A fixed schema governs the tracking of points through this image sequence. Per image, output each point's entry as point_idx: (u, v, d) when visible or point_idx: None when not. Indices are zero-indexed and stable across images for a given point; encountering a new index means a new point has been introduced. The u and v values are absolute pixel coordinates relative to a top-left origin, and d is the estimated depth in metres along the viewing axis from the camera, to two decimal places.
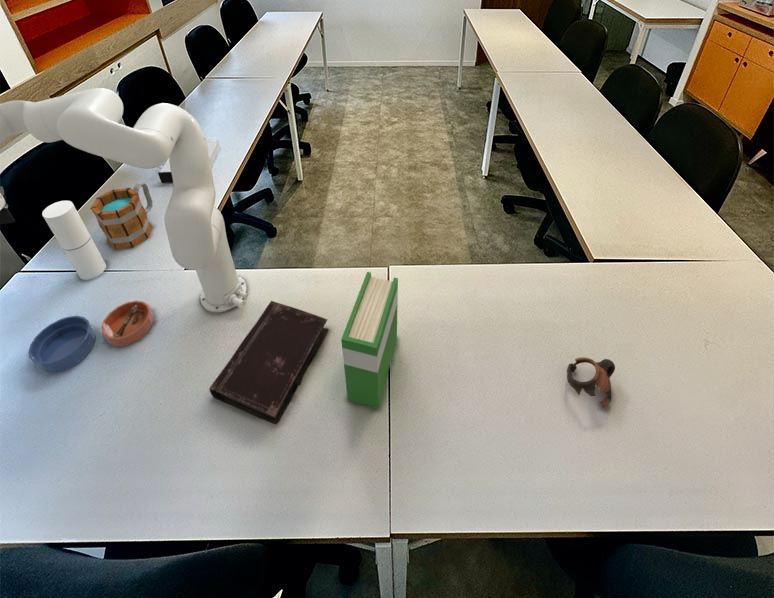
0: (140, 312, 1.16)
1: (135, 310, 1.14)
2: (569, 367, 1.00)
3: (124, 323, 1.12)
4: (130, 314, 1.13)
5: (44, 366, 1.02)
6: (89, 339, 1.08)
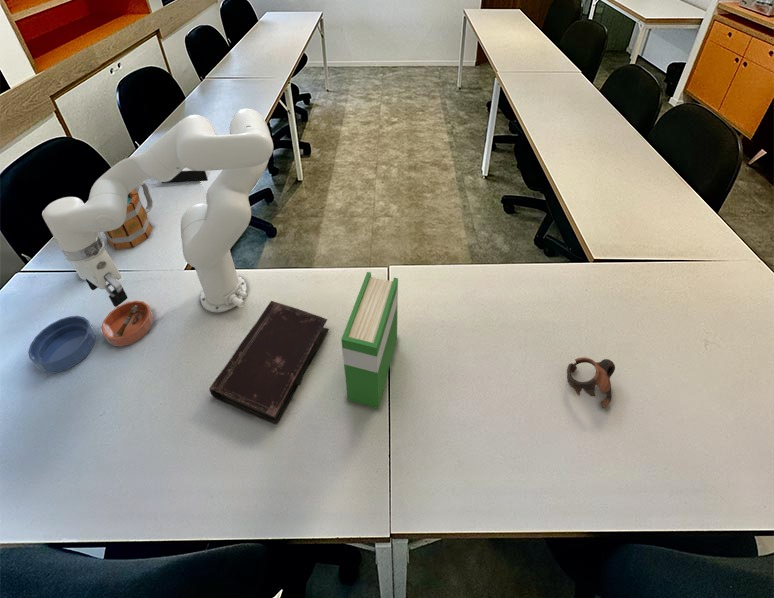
0: (140, 312, 1.16)
1: (135, 310, 1.14)
2: (569, 367, 1.00)
3: (124, 323, 1.12)
4: (130, 314, 1.13)
5: (44, 366, 1.02)
6: (89, 339, 1.08)
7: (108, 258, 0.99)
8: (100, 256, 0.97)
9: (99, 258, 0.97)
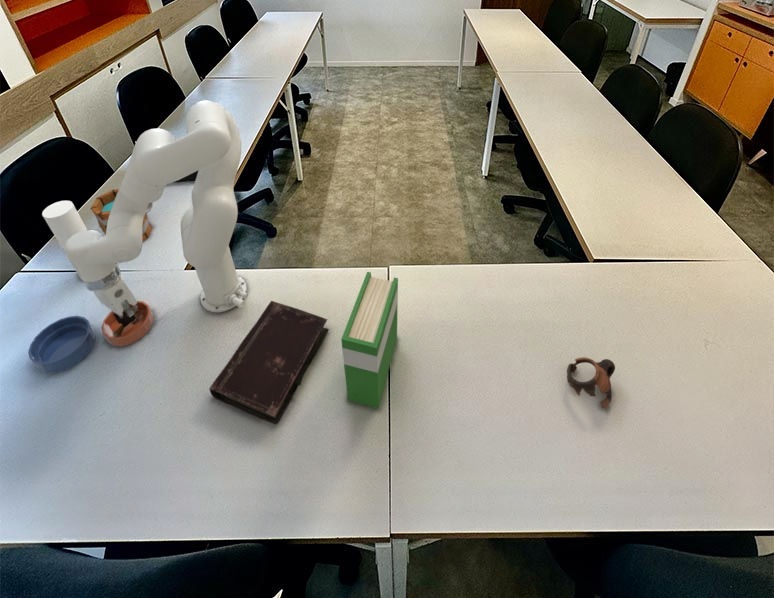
0: (140, 312, 1.16)
1: (135, 310, 1.14)
2: (569, 367, 1.00)
3: None
4: None
5: (44, 366, 1.02)
6: (89, 339, 1.08)
7: (125, 286, 1.04)
8: (118, 284, 1.03)
9: (116, 287, 1.02)
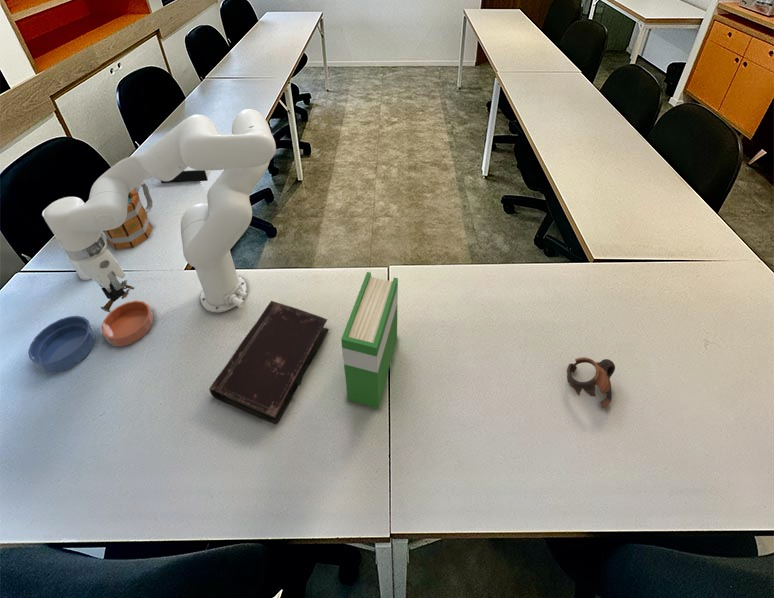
0: (131, 287, 1.11)
1: (125, 285, 1.09)
2: (569, 367, 1.00)
3: None
4: None
5: (44, 366, 1.02)
6: (89, 339, 1.08)
7: (111, 257, 0.99)
8: (103, 255, 0.97)
9: (101, 257, 0.97)
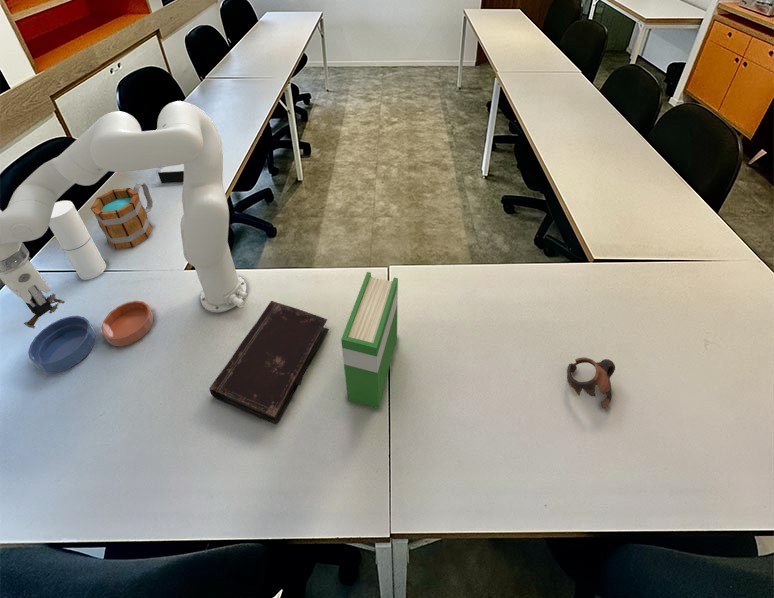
0: (60, 301, 1.04)
1: (53, 299, 1.02)
2: (569, 367, 1.00)
3: None
4: None
5: (44, 366, 1.02)
6: (89, 339, 1.08)
7: (33, 270, 0.92)
8: (22, 268, 0.90)
9: (21, 270, 0.90)
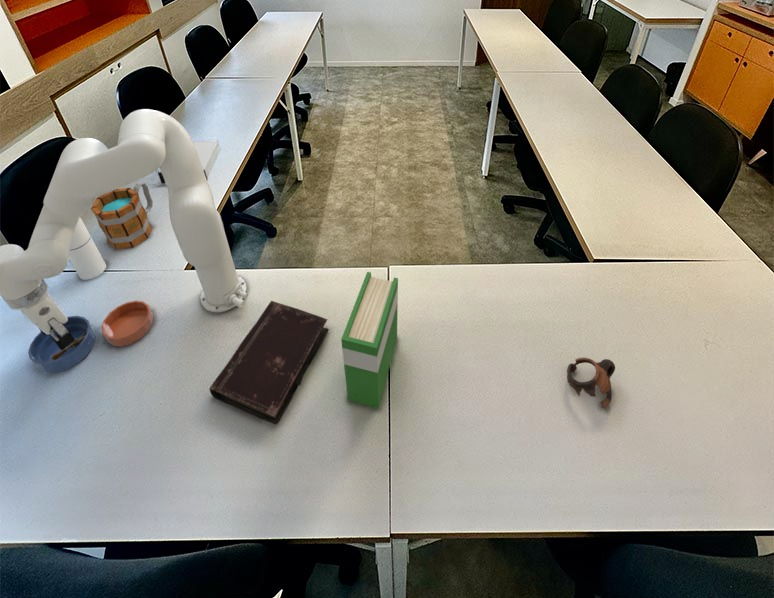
0: None
1: None
2: (569, 367, 1.00)
3: (66, 350, 1.06)
4: (76, 343, 1.07)
5: (44, 366, 1.02)
6: (89, 339, 1.08)
7: (52, 303, 0.98)
8: (43, 302, 0.96)
9: (41, 304, 0.96)
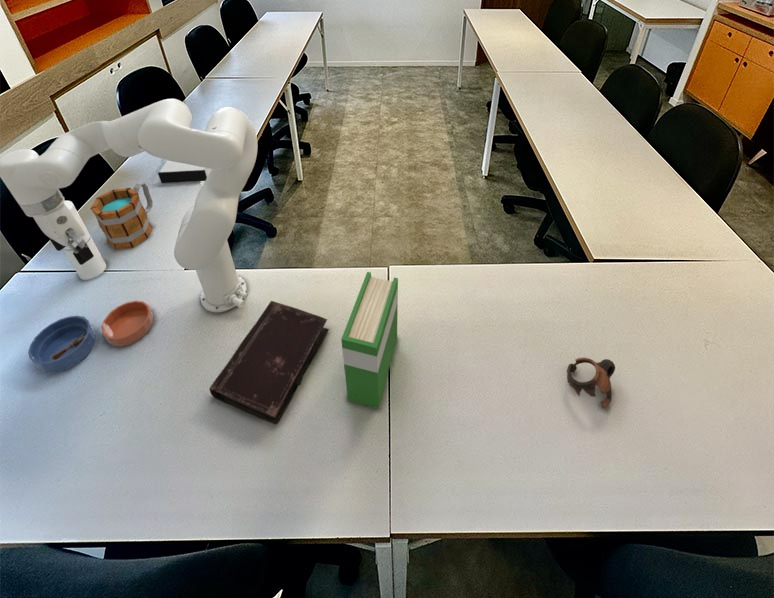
0: None
1: None
2: (569, 367, 1.00)
3: (66, 350, 1.06)
4: (76, 343, 1.07)
5: (44, 366, 1.02)
6: (89, 339, 1.08)
7: (69, 213, 0.97)
8: (60, 210, 0.95)
9: (58, 213, 0.95)
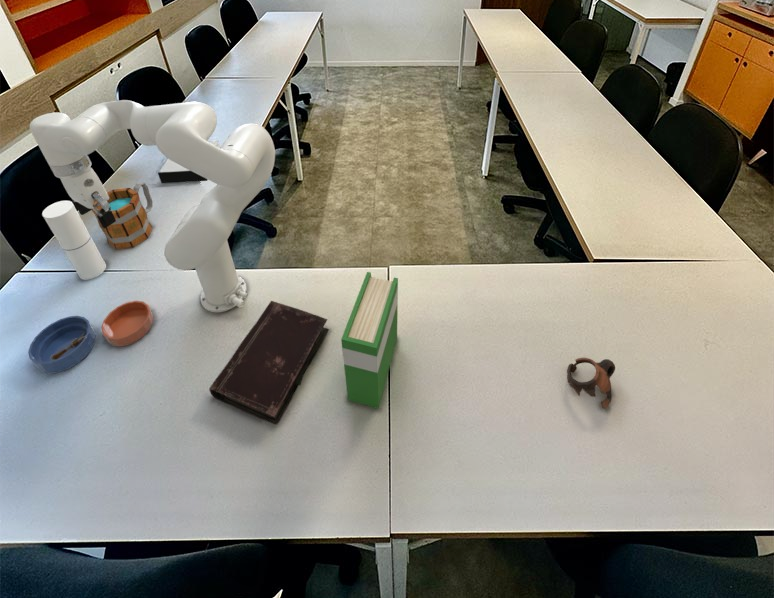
0: None
1: None
2: (569, 367, 1.00)
3: (66, 350, 1.06)
4: (76, 343, 1.07)
5: (44, 366, 1.02)
6: (89, 339, 1.08)
7: (95, 177, 1.01)
8: (87, 173, 0.99)
9: (86, 175, 0.99)
